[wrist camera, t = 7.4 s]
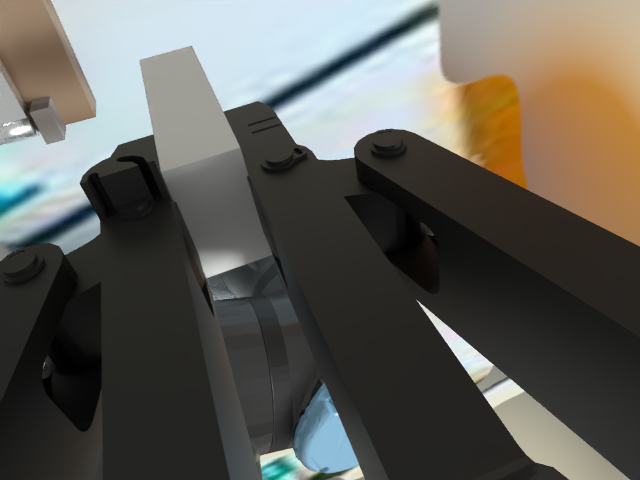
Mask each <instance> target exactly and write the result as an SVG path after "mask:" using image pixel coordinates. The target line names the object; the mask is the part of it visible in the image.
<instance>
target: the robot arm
mask: <svg viewBox="0 0 640 480" xmlns="http://www.w3.org/2000/svg"><path fill="white" fill-rule="evenodd" d="M139 61H140V66H141V71H142V77H143V82H144V87H145V92H146V97H147V102H148V107H149V113H150V118H151V123H152V128H153V133H154V135H150V136H147V137H144V138H140V139H137V140H134V141H130V142H127V143H124V144H120V145H118V146H117V148H116V149H115V151H114V152H113V154H112V155H111V157H110V158H108V159H105V160H103V161H101V162H100V163H98V164H96V165H95V166H93V167H91V168H90V169H89V170H88V171H87V172H86V173H85V174H84V175H83V177H82V179H81V182H80V185H81V187H82V189H83V190H84V192H85V194H86V196H87V197H88V199H89V201H90V203H91V205H92V206H93V208H94V210H95V212H96V213H97V215H98V217H99V219H100V231H101V233H100V234H99V235H98V236H97V237H96V238H94V239H93V240H92V241H90V242H88V243H87V244H85V245H83V246H82V247H80V248H78V249H76V250H74V251H72V252H70V253H69V254H67V255H64V253H63V252H62V250H61V249H60V247H59V246H57V245H53V244H50V243H45V244H35V245H32V246H29V247H24V248H21V249H19V250H16V252H13V253H11V254H9V255H7V256H6V257H5V258H4V259H3V260H2V261H0V480H263V479H262V473H261V466H260V456H261V455H264V454H268V453H272V452H276V451H281V450H285V449H290V448H293V449H294V452H295V455H296V457H297V458H298V460H300V461H301V462H302V464H303V465H304V466H305V467H306V468H308V469H309V470H311V471H315V472H317V471H320V472H323V473H333V472H339V471H343V470H346V469H349V468H352V467H355V466H357V465H360V468H361V470H362V473H363V475H364V477H365V480H568V479H567V478H566V477H565V476H563V475H562V474H561V473H560V472H558V471H557V470H556V469H555V468H553V467H550V466H546V465H543V464H539V463H535V462H534V461H532V460H531V459H530V458H529V457H528V456H527V455H526V454H525V453H524V452H523V451H522V449H521V448H520V447H519V445H518V444H517V443H516V441H515V440H514V438H513V437H512V436H511V434H510V433H509V431H508V430H507V428H506V427H505V426H504V424H503V423H502V421H501V420H500V418H499V417H498V416H497V414H496V413H495V411H494V410H493V408H492V407H491V406H490V404H489V403H488V401H487V400H486V399H485V397H484V396H483V394H482V393H481V391H480V390H479V389H478V387H477V386H476V384H475V383H474V381H473V380H472V379H471V377H470V376H469V374H468V373H467V371H466V370H465V369H464V367H463V366H462V364H461V363H460V362H459V360H458V359H457V357H456V356H455V354H454V353H453V352H452V350H451V349H450V347H449V346H448V344H447V343H446V342H445V340H444V339H443V337H442V336H441V334H440V333H439V332H438V330H437V329H436V327H435V326H434V324H433V323H432V322H431V320H430V319H429V317H428V316H427V315H426V313H425V312H424V310H423V309H422V307H421V306H420V305H419V303H418V302H417V300H418V301H419V302H420V303H421V304H422V305H423V306H425V307H426V308H427V309H428V310H429V311H431V312H432V313H433V314H434V315H435V316H437V317H438V318H439V319H440V320H441V321H443V322H444V323H445V324H446V325H447V326H448V327H450V328H451V329H452V330H453V331H454V332H456V333H457V334H458V335H459V336H460V337H462V338H463V339H464V340H465V341H466V342H467V343H469V344H470V345H471V346H472V347H473V348H475V349H476V350H477V351H478V352H479V353H481V354H482V355H483V356H484V357H485V358H486V359H488V360H489V361H490V362H491V363H492V364H494V365H495V366H496V367H497V368H498V369H500V370H501V371H502V372H503V373H504V374H505V375H507V376H508V377H509V378H510V379H511V380H513V381H514V382H515V383H516V384H517V385H519V386H520V387H521V388H522V389H523V390H524V391H526V392H527V393H528V394H529V395H530V396H532V397H533V398H534V399H535V400H536V401H538V402H539V403H540V404H541V405H542V406H543V407H545V408H546V409H547V410H548V411H549V412H551V413H552V414H553V415H554V416H555V417H557V418H558V419H559V420H560V421H561V422H563V423H564V424H565V425H566V426H567V427H568V428H570V429H571V430H572V431H573V432H574V433H576V434H577V435H578V436H579V437H580V438H582V439H583V440H584V441H585V442H586V443H587V444H589V445H590V446H591V447H593V449H595V450H596V451H597V452H598V453H599V454H601V455H602V456H603V457H604V458H605V459H606V460H608V461H609V462H610V463H611V464H612V465H614V466H615V467H616V468H617V469H618V470H620V471H621V472H622V473H623V474H624V475H625V476H627V477H628V478H629V479H630V480H640V247H639V246H637V245H636V244H634V243H632V242H630V241H628V240H626V239H624V238H622V237H620V236H618V235H616V234H614V233H612V232H610V231H608V230H606V229H604V228H602V227H600V226H598V225H596V224H594V223H592V222H590V221H588V220H586V219H584V218H582V217H580V216H578V215H576V214H574V213H572V212H570V211H568V210H566V209H564V208H562V207H560V206H558V205H556V204H554V203H552V202H550V201H548V200H546V199H544V198H542V197H540V196H538V195H536V194H534V193H532V192H530V191H528V190H526V189H524V188H522V187H520V186H518V185H517V184H515V183H513V182H511V181H509V180H507V179H505V178H503V177H501V176H499V175H497V174H495V173H493V172H491V171H489V170H487V169H485V168H483V167H481V166H479V165H477V164H475V163H473V162H471V161H469V160H467V159H465V158H463V157H461V156H459V155H457V154H455V153H453V152H451V151H449V150H447V149H445V148H443V147H441V146H439V145H437V144H435V143H433V142H431V141H429V140H427V139H425V138H423V137H421V136H419V135H417V134H415V133H412V132H409V131H406V130H397V129H385V130H379V131H376V132H374V133H371V134H369V135H366V136H365V137H363V138H362V139H360V140H359V141H358V142H357V144H356V145H355V147H354V155H355V158H348V159H341V160H318V159H317V158H316V156H315V155H314V154H313V152H312V151H311V150H309V149H308V148H307V147H305V146H301V145H297V144H296V143H295V142H294V140H293V139H292V137H291V136H290V134H289V133H288V131H287V130H286V128H285V127H284V125H282V122H281V121H280V119H279V118H278V117H277V115H276V113H275V112H274V110H273V109H272V107H270V106H268V105H266V104H263V103H261V102H258V101H257V102H254V103H251V104H247V105H244V106H241V107H237V108H234V109H231V110H227V111H224V112H223V110H222V108H221V106H220V104H219V102H218V100H217V98H216V96H215V93H214V91H213V89H212V87H211V85H210V83H209V81H208V79H207V77H206V75H205V73H204V70H203V68H202V66H201V64H200V62H199V60H198V58H197V56H196V54H195V52H194V49H193V47H192V46H189V47H185V48H182V49H178V50H174V51H171V52H167V53H164V54H160V55H156V56H153V57H149V58H146V59H142V60H139ZM203 271H204V273H205V276H206V278H208V277H211V276H214V275H217V274H220V275H221V277H222V279H223V281H224V283H225V285H226V286H227V288H228V289H229V290H230V291H231V292H232V293H233V294H234V295H235V297H236V298H233V299H225V300H216V301H214V300H213V296H212V293H211V291H210V288H209V286H208V284H207V281H206V279H205V277H204V273H203ZM44 362H45V366H44V368H43V365H44Z"/></svg>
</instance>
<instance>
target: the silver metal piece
mask: <svg viewBox="0 0 640 480" xmlns="http://www.w3.org/2000/svg"><path fill="white" fill-rule="evenodd" d="M36 136H39V129H38V127H37V125H36V124H35V122H34V120H33V118H32V116H31V114H30V113H28V108H27V107H26V105H25V103H24V101H23V99H22V98H21V96H20V94H19V92H18V90H17V89H16V87H15V85H14V83H13V82H12V80H11V78H10V76H9V74H8V73H7V71H6V69H5V67H4V65H3V64H2V62H1V60H0V146H2V145H5V144H9V143H13V142H17V141H20V140H24V139H28V138H32V137H36Z"/></svg>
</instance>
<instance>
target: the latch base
mask: <svg viewBox="0 0 640 480" xmlns="http://www.w3.org/2000/svg"><path fill="white" fill-rule="evenodd" d="M0 60H1V62H2V64H3V65H4V67H5V69H6V71H7V73H8V74H9V76H10V78H11V80H12V82H13V83H14V85H15V87H16V89H17V90H18V92H19V94H20V96H21V98H22V99H23V101H24V103H25V105H26V107H27V108H28V113H30V114H31V116H32V118H33V120H34V122H35V124H36V125H37V127H38V129H39V132H40V133H41V135H42V136H43V138H44V140H45V142H46V144H50V143H54V142H58V141H61V140H65V132H66V127H65V125H67V124H71V123H74V122H78V121H82V120H86V119H90V118H93V117H96V100H95V98H94V96H93V94H92V91H91V89H90V87H89V85H88V83H87V80H86V78H85V76H84V74H83V71H82V69H81V67H80V65H79V62H78V60H77V58H76V56H75V53H74V51H73V49H72V47H71V45H70V42H69V40H68V38H67V36H66V33H65V31H64V29H63V27H62V24H61V22H60V20H59V18H58V15H57V13H56V11H55V9H54V6H53V4H52V2H51V0H0Z"/></svg>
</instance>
